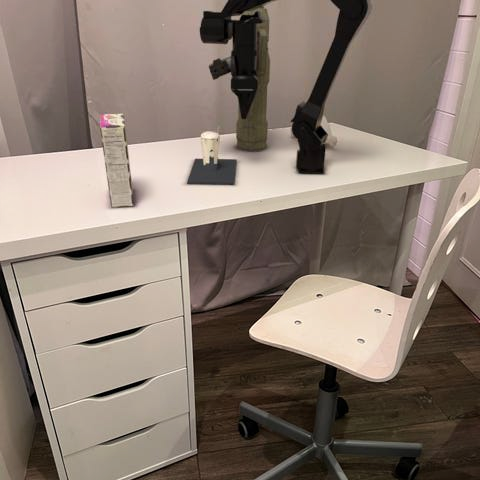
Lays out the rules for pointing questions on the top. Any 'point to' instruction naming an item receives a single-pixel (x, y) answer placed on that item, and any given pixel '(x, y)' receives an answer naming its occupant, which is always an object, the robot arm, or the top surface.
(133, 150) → the top surface
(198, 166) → the mat
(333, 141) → the superhero figure
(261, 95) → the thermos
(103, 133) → the candy bar box
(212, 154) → the milkshake
